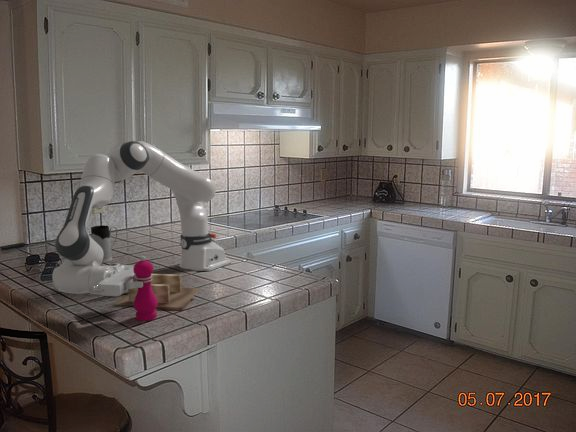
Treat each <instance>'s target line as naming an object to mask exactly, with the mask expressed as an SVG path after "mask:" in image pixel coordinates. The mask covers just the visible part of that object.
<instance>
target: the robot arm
mask: <svg viewBox="0 0 576 432" xmlns="http://www.w3.org/2000/svg"><path fill="white" fill-rule="evenodd" d="M138 171H141V173H143V174H144V175H146V176H148V177H150V178H151V179H153V180H154V181H156V182H157V183H159V184H160V185H162V186H163V187H166V188H169V189H170V190H171V192H172V194H173V195H174V197H175V201H176V204H177V205H176V206H177V207H178V208H177V209H178V212H179V216H180V231H181V234H180V247H181V253H180V254H181V257H180V262H179V267H180V268H181V269H185V270H192V271H194V272H198V271H200V272H201V271H202V272H203V271H205V272H209V271H210V272H211V271H213V270H217V269H218V268H221V267H223V266H226V265H230V264H231V263H232V260H231V259H230V258H228V257H226V252H225V249H224V248H223V247H221V246H220V245H218V244H217V243H216V242H214V241H213V239H217V234H216V233H210V232H209V221H208V219H209V218H208V214H207V211H206V210H205V207H204V205H203V203H208V202H210V201H211V200H212V199H214V198H215V195H216V193H217V191H216V185H215V182H214V181H212V179H210V178H209V177H207V176H205V175H203V174H201V173H199V172H198V171H196V170H194V169H193V168H191V167H188V166H186V165H185V164H183V163H181V162H179V161H177V160H176V159H175V158H173V157H172V156H171V155H169V154H167V153H166V152H164V151H163V150H161V149H160V148H158V147H156V146H154V145H153V144H151V143H148V142H146V141H143V140H138V141H134V140H132V141H126V142H124V143H123V144H122V145H120V146H118V147H116V148H115V149H113V150H111V152H109V153H108V154H103V153H95V154H93V155H91V156H90V157H89V158H88V159H87V161H86V163H85V165H84V167H83V170H82V175H81V177H80V183H79V186H78V188H77V189H76V191H75V192H74V194H73V196H72V200H71V202H70V206H69V209H68V212H67V214H66V218H65V222H64V224H63V225H62V226H63V227H62V228H61V230H60V231H59V233H58V234H57V237H56V239H55V244H54V246H55V251H56V252H57V253H58V255H59V256H62V257H63V258H64V259H65V260H64V261H63V262H62V263H61V264H59V266H57V267H55V268H54V269H53V270H52V271H53V272H52V277H51V279H52V283H53V286H54V287H55V289H56V290H58V291H59V292H61V293H66V294H75V295H76V294H78V295H79V294H86V293H88V294H92V295H100V296H107V297H119V296H121V295H123V293H124V292H125V291H127V290H128V289H133V288H142V287H143V286H144V281H136V275H135V274H134V271H133V269H134V265H135V264H134V265H132V264H120V263H118V262H116V263H111V264H108V265H102V264H103V262H102V261H103V258H104V251H103V249H102V248H101V246H100V245H99V244H98V243H97V242H96V241H94V240H93V239H92V238H91V235H90V234H89V233H88V230H87V224H88V221H89V217H90V214H91V210H92V209H101V208H103V207H106V206H107V205H109V204H110V203H111V201H112V198H113V195H114V192H115V186H116V184H120V183H121V182H123V181H125V180H126V179H128V178H131V177H132V176H133V175H134V174H136V173H137V172H138ZM124 294H125V293H124Z"/></svg>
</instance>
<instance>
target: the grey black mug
mask: <svg viewBox="0 0 576 432" xmlns="http://www.w3.org/2000/svg"><path fill="white" fill-rule="evenodd" d="M113 228H114V229H115V239H114V242H113V244H112V245H111V236H112V232H111V231H112V229H113ZM118 235H119V233H118V229H117V227H116V226H111V227H110V226H109V225H105V224H104V225H94V226H92V227H90V237H91V238H92V239H93V240H94V241H96V242H97V243H98V244H99V245H100V246H101V248H102V249H103V251H104V258H103V261H102V263H108V262H111V261H113V260H114V259H113V257H112V249H113V247H115V245H116V244H117V243H116V242H117V239H118Z"/></svg>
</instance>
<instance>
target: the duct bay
mask: <svg viewBox="0 0 576 432" xmlns="http://www.w3.org/2000/svg"><path fill="white" fill-rule="evenodd" d="M151 275H152V281H151V288H152V291H153V293H154V295H155V296H156V299H157V303H158V305H157V307H156V309H155V310H156V311H157V310H159V311H184V309H186V308H187V307H188V306H189V304H191V302H192V301H193V300H194V299H195V298H194V296H195V295H197V293H198V292H199V291H200V290H202V289H201V287H198V288H197V287H182V275H181V274H176V273H175V274H173V273H171V274H169V273H168V274H167V273H152V274H151ZM137 292H138V288H133V289H128V293H126V294H125V295H124V296H123V297H121V298H120V299H119V300H117V301H116V302H114V303H113V304H112V305H113V306H127V307H129V306H131V307H134V300H135V297H136V295H137Z"/></svg>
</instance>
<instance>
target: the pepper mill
mask: <svg viewBox="0 0 576 432" xmlns="http://www.w3.org/2000/svg"><path fill="white" fill-rule="evenodd" d="M153 265H154V264H153V263H152V262H150V260H147V257H146V256H145V255H142V256H140V257H139V261H137V262H136V263H135V264H134V269H133V271H134V274H135V275H136V281H144V286H143V287H142V288H138V292H137V295H136V297H135V300H134V306H133V308H134V310H135V311H136V312H135V318H136V320H137V321H140V322H149V321H153V320H155V319H156V318H157V316H158V315H157V314H158V313H157V309H156V307H157V305H158V303H157V299H156V296H155V295H154V293H153V291H152V288H151V281H152V275H151V274H154V266H153Z"/></svg>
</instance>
